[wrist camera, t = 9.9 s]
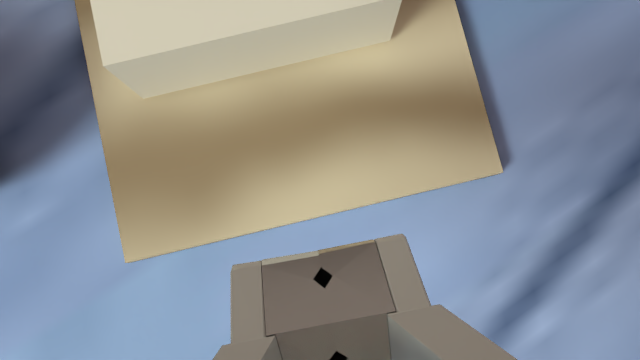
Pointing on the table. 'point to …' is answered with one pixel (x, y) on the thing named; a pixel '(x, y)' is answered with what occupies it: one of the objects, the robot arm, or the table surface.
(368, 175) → the board
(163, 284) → the table surface
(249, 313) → the robot arm
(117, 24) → the tile
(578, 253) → the table surface
